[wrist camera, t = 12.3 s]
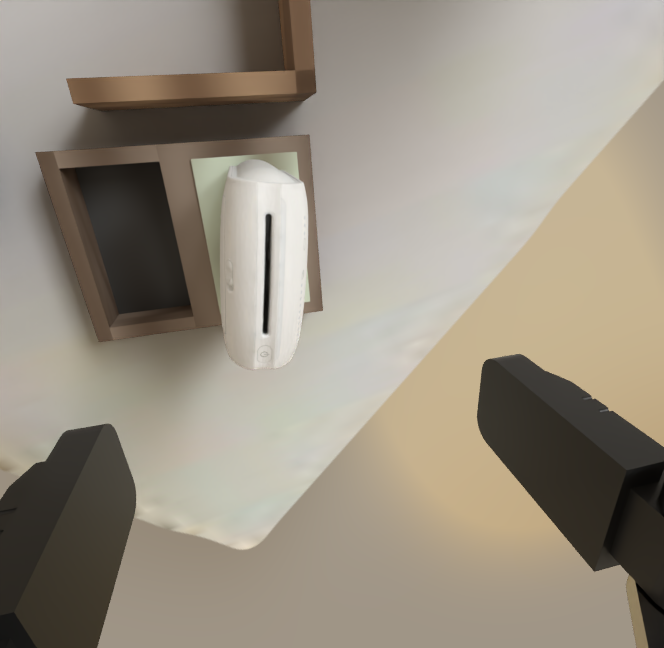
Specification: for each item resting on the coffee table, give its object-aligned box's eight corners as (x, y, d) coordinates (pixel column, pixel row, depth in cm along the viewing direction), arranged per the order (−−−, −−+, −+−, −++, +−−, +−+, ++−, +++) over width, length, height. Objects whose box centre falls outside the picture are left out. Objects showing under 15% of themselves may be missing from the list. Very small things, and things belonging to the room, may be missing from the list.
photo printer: (282, 303, 32) (306, 386, 21) (225, 302, 31) (219, 389, 20) (288, 162, 28) (324, 172, 17) (224, 156, 27) (215, 162, 16)
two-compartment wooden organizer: (302, 135, 30) (310, 134, 27) (316, 298, 36) (323, 311, 33) (55, 152, 27) (33, 152, 24) (110, 325, 33) (98, 343, 30)
